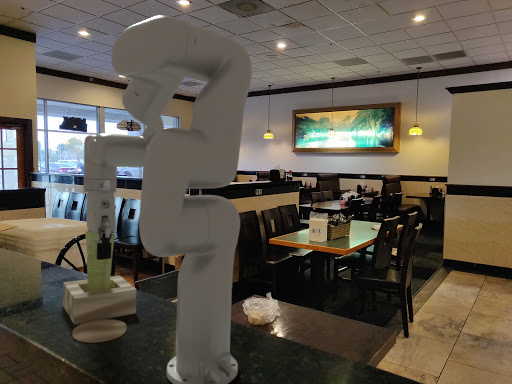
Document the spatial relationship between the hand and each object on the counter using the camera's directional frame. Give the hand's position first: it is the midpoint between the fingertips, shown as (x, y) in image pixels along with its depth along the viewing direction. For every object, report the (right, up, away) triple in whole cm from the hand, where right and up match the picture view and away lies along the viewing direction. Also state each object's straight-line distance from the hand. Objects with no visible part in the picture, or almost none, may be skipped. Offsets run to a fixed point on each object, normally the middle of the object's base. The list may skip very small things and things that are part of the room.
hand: (98, 254), depth 97 cm
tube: (0, -14, +1) cm, 14 cm away
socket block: (0, -14, 0) cm, 14 cm away
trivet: (+5, -15, -12) cm, 20 cm away
